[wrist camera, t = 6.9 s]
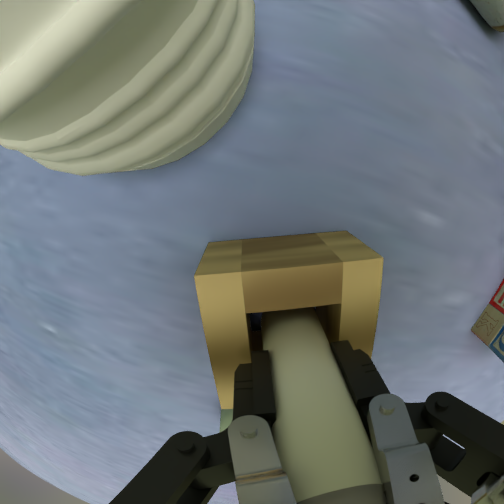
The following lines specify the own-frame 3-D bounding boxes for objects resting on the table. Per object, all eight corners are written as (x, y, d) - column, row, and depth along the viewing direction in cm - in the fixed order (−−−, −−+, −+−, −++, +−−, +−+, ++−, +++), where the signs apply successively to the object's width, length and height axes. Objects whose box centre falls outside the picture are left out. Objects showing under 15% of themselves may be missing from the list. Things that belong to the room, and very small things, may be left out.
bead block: (208, 242, 16) (193, 275, 11) (346, 230, 16) (383, 257, 11) (226, 355, 19) (221, 409, 14) (341, 343, 19) (364, 391, 14)
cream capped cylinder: (258, 298, 14) (282, 552, 3) (316, 293, 14) (418, 516, 3) (262, 346, 15) (283, 564, 4) (315, 340, 15) (383, 542, 4)
